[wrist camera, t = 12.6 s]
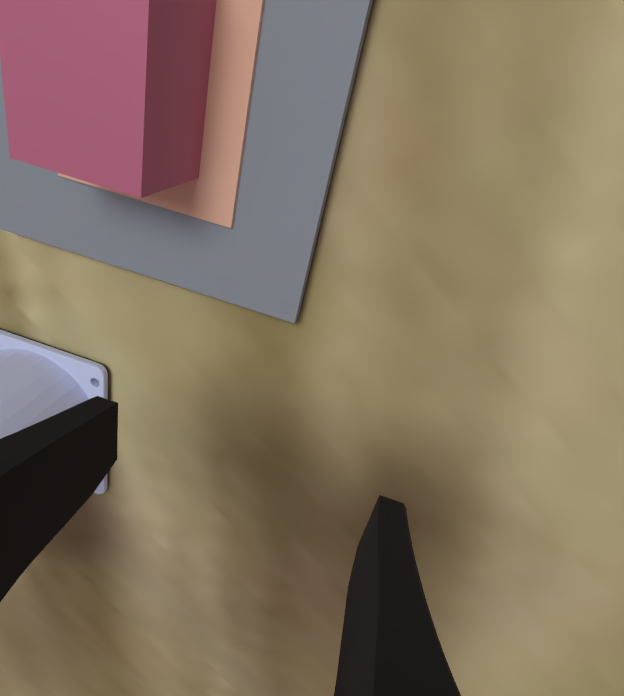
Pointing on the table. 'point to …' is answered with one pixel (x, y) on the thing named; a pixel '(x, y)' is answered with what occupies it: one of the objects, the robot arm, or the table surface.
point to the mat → (223, 165)
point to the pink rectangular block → (108, 88)
